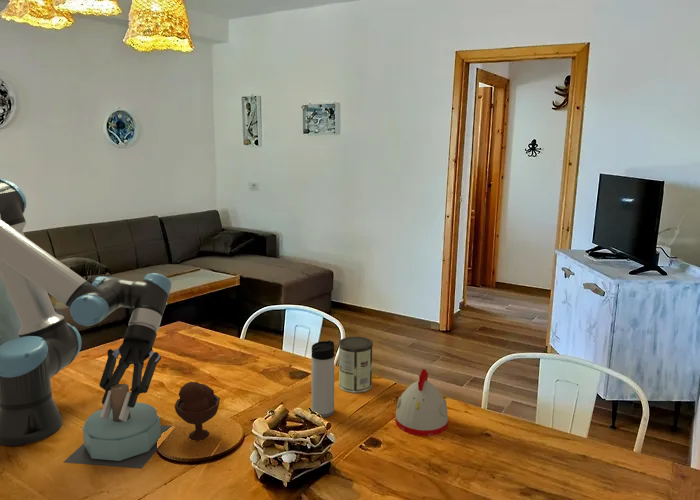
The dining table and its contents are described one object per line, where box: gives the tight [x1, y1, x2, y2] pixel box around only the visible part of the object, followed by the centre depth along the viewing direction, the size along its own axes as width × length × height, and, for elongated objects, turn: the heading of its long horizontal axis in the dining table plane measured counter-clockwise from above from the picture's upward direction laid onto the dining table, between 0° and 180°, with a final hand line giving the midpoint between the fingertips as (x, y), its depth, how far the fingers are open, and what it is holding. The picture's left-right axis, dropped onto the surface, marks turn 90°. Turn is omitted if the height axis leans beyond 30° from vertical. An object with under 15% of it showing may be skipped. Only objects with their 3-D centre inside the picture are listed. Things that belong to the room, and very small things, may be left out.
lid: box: [82, 383, 161, 461], centre depth 135 cm, size 16×16×14 cm
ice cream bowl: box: [174, 381, 221, 442], centre depth 139 cm, size 11×11×15 cm
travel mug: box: [310, 340, 335, 418], centre depth 152 cm, size 6×7×20 cm
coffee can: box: [338, 336, 374, 394], centre depth 169 cm, size 10×10×14 cm
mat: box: [63, 424, 173, 469], centre depth 136 cm, size 19×19×1 cm
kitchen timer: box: [395, 368, 449, 437], centre depth 148 cm, size 14×14×15 cm
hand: (113, 419), depth 131 cm, fingers closed on lid, 4 cm apart
